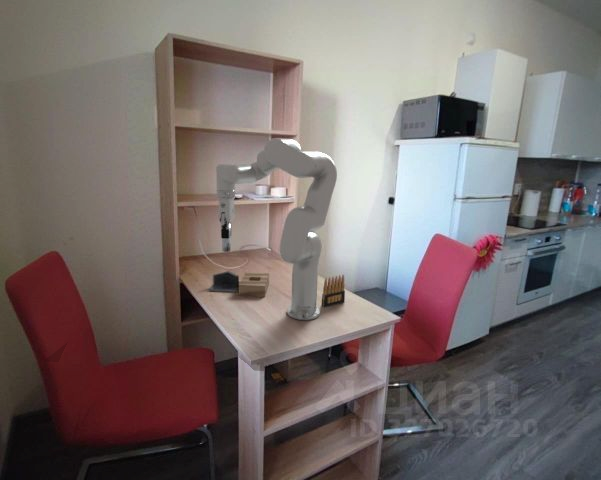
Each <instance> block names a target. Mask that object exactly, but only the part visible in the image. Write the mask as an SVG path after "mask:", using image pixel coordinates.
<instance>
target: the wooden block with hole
mask: <svg viewBox="0 0 601 480" xmlns="http://www.w3.org/2000/svg"><path fill="white" fill-rule="evenodd" d="M239 282H240V284H239V290H238V296H239V297H255V298H266V294H267V292H268V288H269V286H270V273H269V272H268V273H266V272H265V273H264V272H244V275H243V277H242V278H241V280H240V281H239Z"/></svg>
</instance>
